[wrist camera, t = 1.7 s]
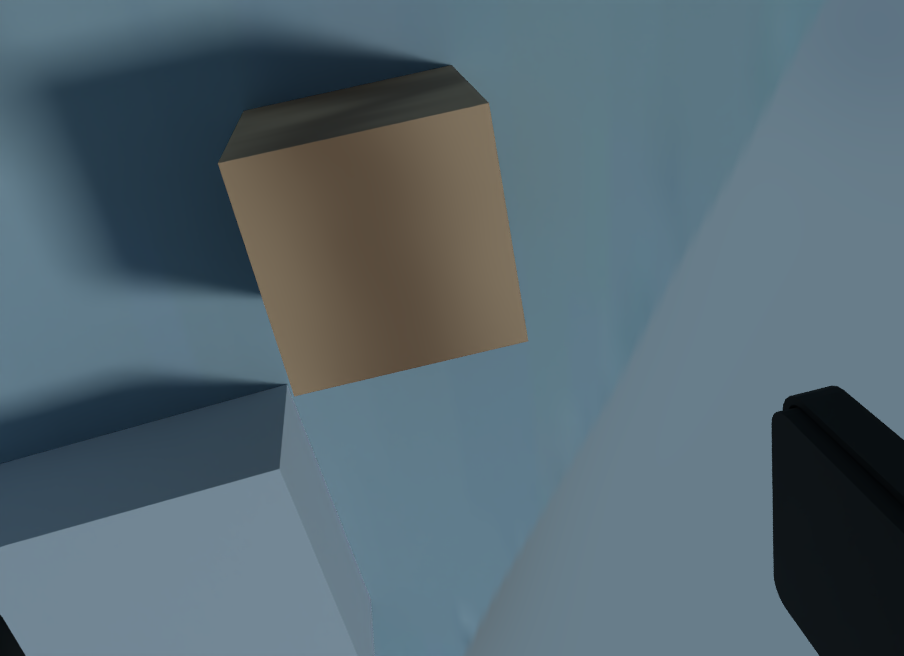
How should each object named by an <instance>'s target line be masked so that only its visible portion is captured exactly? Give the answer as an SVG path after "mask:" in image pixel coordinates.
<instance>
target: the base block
mask: <svg viewBox="0 0 904 656" xmlns="http://www.w3.org/2000/svg"><path fill="white" fill-rule="evenodd" d="M0 615H1V616H2V617H3V619H4V620H5V622H6V624H7V625H8V627H9V629H10V630H11V632H12V634H13V635H14V637H15V639H16V640H17V642H18V644H19V645H20V647H21V649H22V650H23V652H24V654H25V655H26V656H375V654H374V639H373V623H372V608H371V598H370V596H369V593H368V590H367V588H366V585H365V583H364V580H363V578H362V575H361V572H360V570H359V567H358V565H357V562H356V560H355V557H354V554H353V552H352V549H351V547H350V544H349V542H348V539H347V536H346V534H345V531H344V529H343V526H342V524H341V521H340V518H339V516H338V513H337V511H336V508H335V506H334V503H333V501H332V498H331V495H330V493H329V490H328V488H327V485H326V483H325V480H324V477H323V475H322V472H321V470H320V467H319V465H318V462H317V459H316V457H315V454H314V452H313V449H312V447H311V444H310V441H309V439H308V436H307V434H306V431H305V429H304V426H303V423H302V421H301V418H300V416H299V413H298V411H297V408H296V405H295V403H294V400H293V398H292V395H291V393H290V390H289V387H288V385H287V384H286V385H283V386H279V387H276V388H272V389H268V390H265V391H261V392H258V393H254V394H250V395H247V396H243V397H240V398H236V399H232V400H229V401H225V402H222V403H218V404H214V405H211V406H207V407H204V408H200V409H196V410H193V411H189V412H186V413H182V414H178V415H175V416H171V417H168V418H164V419H160V420H157V421H153V422H150V423H146V424H142V425H139V426H135V427H132V428H128V429H124V430H121V431H117V432H114V433H110V434H106V435H103V436H99V437H96V438H92V439H88V440H85V441H81V442H78V443H74V444H70V445H67V446H63V447H60V448H56V449H52V450H49V451H45V452H42V453H38V454H34V455H31V456H27V457H24V458H20V459H16V460H13V461H9V462H6V463H2V464H0Z"/></svg>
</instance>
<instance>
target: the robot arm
mask: <svg viewBox="0 0 904 656" xmlns="http://www.w3.org/2000/svg"><path fill="white" fill-rule="evenodd" d="M772 479H773V480H772V485H773V557H774V581H775V585H776V589H777V591H778V594H779V597H780V599H781V601H782V603H783V605H784V606H785V608H786V609H787V610H788V612H789V614H790V615H791V616H792V618H793V619H794V621H795V622H796V623H797V625H798V626H799V628H800V629H801V630H802V632H803V633H804V635H805V636H806V637H807V639H808V640H809V642H810V643H811V644H812V646H813V647H814V649H815V650H816V651H817V653H818V654H819V656H904V440H903V439H902V438H900V437H899V436H898V435H897V434H896V433H895V432H893V431H892V430H891V429H890V428H889V427H887V426H886V425H885V424H884V423H882V422H881V421H880V420H879V419H878V418H877V417H875V416H874V415H873V414H872V413H870V412H869V411H868V410H867V409H866V408H865V407H863V406H862V405H861V404H860V403H859V402H857V401H856V400H855V399H854V398H853V397H851V396H850V395H849V394H848V393H847V392H845V391H844V390H843V389H841V388H839V387H838V386H829V387H825V388H821V389H817V390H813V391H809V392H805V393H801V394H797V395H793V396H789V397H788V398H787V399H785V402H784V404H783V411H779V412H776V413H775V414H774V415H773V417H772ZM0 656H26V655H25V654H24V652H23V650H22V649H21V647H20V645H19V644H18V642H17V640H16V639H15V637H14V635H13V634H12V632H11V630H10V629H9V627H8V625H7V624H6V622H5V620H4V619H3V617H2V616H1V615H0Z"/></svg>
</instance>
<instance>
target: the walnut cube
mask: <svg viewBox="0 0 904 656" xmlns="http://www.w3.org/2000/svg"><path fill="white" fill-rule="evenodd" d="M218 165H219V168H220V171H221V174H222V177H223V180H224V183H225V186H226V189H227V192H228V195H229V199H230V202H231V205H232V208H233V211H234V214H235V217H236V220H237V223H238V226H239V229H240V232H241V235H242V238H243V241H244V244H245V247H246V250H247V253H248V256H249V259H250V262H251V266H252V269H253V272H254V275H255V278H256V281H257V284H258V287H259V290H260V293H261V296H262V299H263V302H264V305H265V308H266V311H267V314H268V317H269V320H270V323H271V326H272V329H273V333H274V336H275V339H276V342H277V345H278V348H279V351H280V354H281V357H282V360H283V363H284V366H285V369H286V372H287V375H288V378H289V381H290V384H291V387H292V390H293V393H294V396H297V395H302V394H306V393H310V392H314V391H319V390H323V389H327V388H331V387H336V386H340V385H344V384H348V383H353V382H357V381H361V380H365V379H370V378H374V377H378V376H382V375H386V374H391V373H395V372H399V371H403V370H408V369H412V368H416V367H420V366H425V365H429V364H433V363H437V362H442V361H446V360H450V359H454V358H459V357H463V356H467V355H471V354H476V353H480V352H484V351H488V350H493V349H497V348H501V347H505V346H509V345H514V344H518V343H522V342H526V341H528V337H527V331H526V325H525V319H524V313H523V307H522V301H521V295H520V289H519V283H518V277H517V271H516V265H515V259H514V253H513V246H512V240H511V234H510V228H509V222H508V216H507V210H506V204H505V198H504V192H503V186H502V180H501V174H500V168H499V162H498V156H497V150H496V143H495V137H494V131H493V125H492V119H491V113H490V107H489V103H488V102H487V101H486V100H485V99H484V98H483V97H482V96H481V95H480V94H479V93H478V92H477V90H476V89H475V88H474V87H473V86H472V85H471V84H470V83H469V82H468V81H467V80H466V79H465V78H464V77H463V76H462V75H461V74H460V73H459V72H458V71H457V70H456V69H455V68H454V67H453V66H452V65H450V66H445V67H441V68H436V69H432V70H427V71H423V72H418V73H414V74H409V75H405V76H400V77H396V78H391V79H386V80H382V81H377V82H373V83H368V84H364V85H359V86H355V87H350V88H346V89H341V90H337V91H332V92H327V93H323V94H318V95H314V96H309V97H305V98H300V99H296V100H291V101H287V102H282V103H278V104H273V105H268V106H264V107H259V108H255V109H250V110H246V111H243V113H242V115H241V117H240V119H239V121H238V123H237V125H236V128H235V130H234V132H233V134H232V136H231V138H230V140H229V142H228V144H227V146H226V148H225V150H224V152H223V154H222V156H221V158H220V160H219V162H218Z"/></svg>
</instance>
